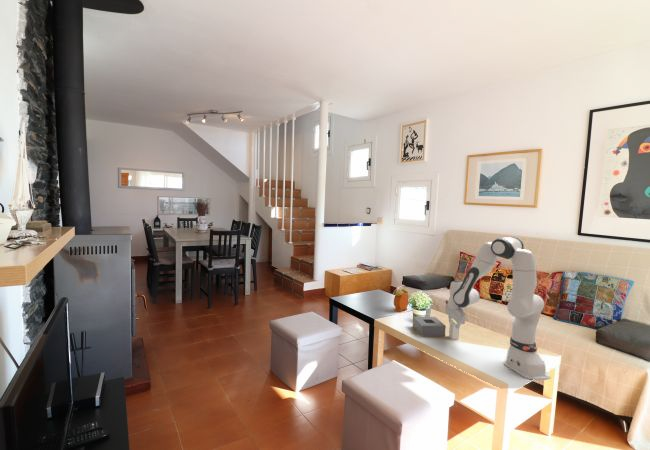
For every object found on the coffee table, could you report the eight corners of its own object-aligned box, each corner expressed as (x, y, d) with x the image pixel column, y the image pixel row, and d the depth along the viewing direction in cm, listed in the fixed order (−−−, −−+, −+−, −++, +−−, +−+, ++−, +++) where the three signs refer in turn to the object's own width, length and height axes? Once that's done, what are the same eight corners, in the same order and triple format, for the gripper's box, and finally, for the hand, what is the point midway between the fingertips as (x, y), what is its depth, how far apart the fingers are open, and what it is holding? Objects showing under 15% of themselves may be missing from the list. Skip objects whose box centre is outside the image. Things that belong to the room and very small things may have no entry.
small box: (425, 318, 245) (426, 305, 244) (430, 321, 240) (431, 307, 239) (416, 319, 242) (417, 306, 241) (421, 322, 237) (422, 308, 236)
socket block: (445, 336, 214) (445, 325, 214) (421, 336, 213) (422, 325, 212) (434, 326, 230) (435, 316, 230) (412, 326, 229) (413, 316, 228)
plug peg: (458, 339, 211) (459, 323, 210) (452, 339, 210) (453, 323, 210) (455, 336, 215) (456, 320, 214) (448, 336, 215) (450, 320, 214)
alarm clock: (402, 307, 269) (403, 283, 267) (408, 309, 264) (410, 285, 262) (392, 311, 260) (394, 286, 258) (399, 313, 255) (400, 288, 253)
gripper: (468, 310, 201) (466, 332, 203) (453, 299, 221) (451, 319, 223) (459, 310, 201) (457, 331, 202) (444, 299, 221) (442, 319, 222)
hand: (453, 325), depth 213 cm, fingers open, 8 cm apart
